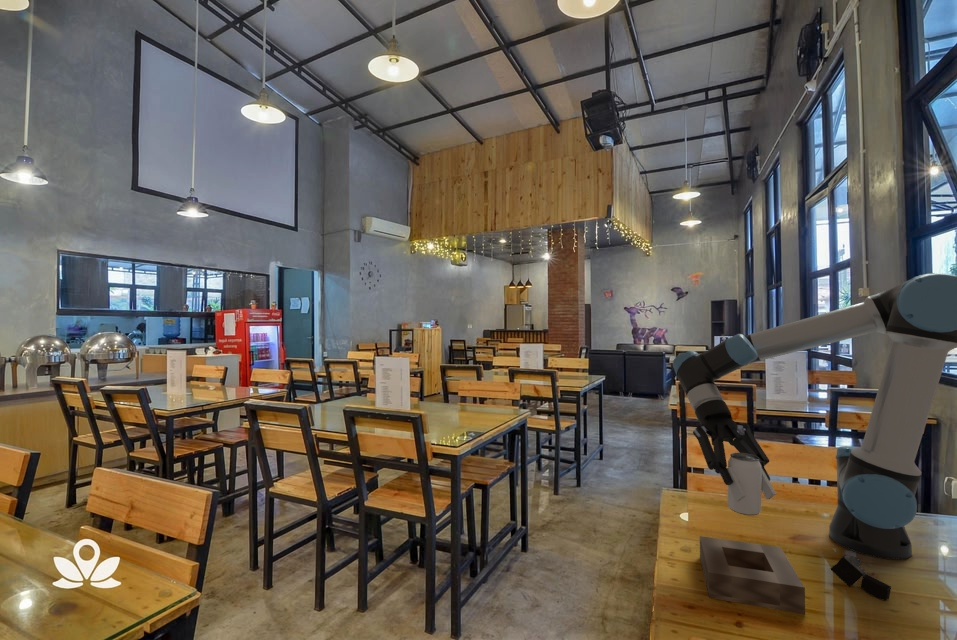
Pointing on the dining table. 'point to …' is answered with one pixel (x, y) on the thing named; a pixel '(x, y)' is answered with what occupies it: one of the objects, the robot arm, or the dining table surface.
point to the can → (746, 483)
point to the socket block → (751, 574)
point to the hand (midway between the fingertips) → (756, 497)
